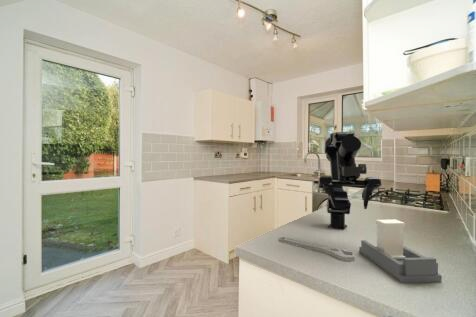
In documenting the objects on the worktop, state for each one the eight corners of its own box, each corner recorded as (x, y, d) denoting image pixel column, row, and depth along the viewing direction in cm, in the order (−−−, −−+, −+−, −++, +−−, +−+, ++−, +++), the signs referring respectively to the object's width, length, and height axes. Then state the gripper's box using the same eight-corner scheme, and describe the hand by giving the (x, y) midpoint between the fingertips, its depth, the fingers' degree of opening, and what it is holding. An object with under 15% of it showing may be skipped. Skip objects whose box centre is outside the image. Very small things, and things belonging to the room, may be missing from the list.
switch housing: (359, 251, 74) (359, 234, 73) (389, 250, 74) (389, 233, 74) (402, 282, 56) (402, 260, 55) (441, 281, 56) (441, 259, 56)
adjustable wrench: (277, 242, 83) (277, 237, 83) (286, 237, 88) (286, 233, 88) (351, 264, 66) (351, 257, 66) (357, 256, 71) (357, 251, 71)
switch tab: (374, 252, 69) (374, 219, 69) (393, 251, 69) (393, 218, 69) (385, 259, 64) (386, 224, 64) (406, 259, 64) (406, 223, 64)
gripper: (320, 154, 76) (321, 201, 70) (383, 154, 71) (391, 204, 65) (317, 166, 86) (319, 208, 80) (373, 167, 81) (379, 211, 75)
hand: (349, 208), depth 75 cm, fingers open, 9 cm apart
